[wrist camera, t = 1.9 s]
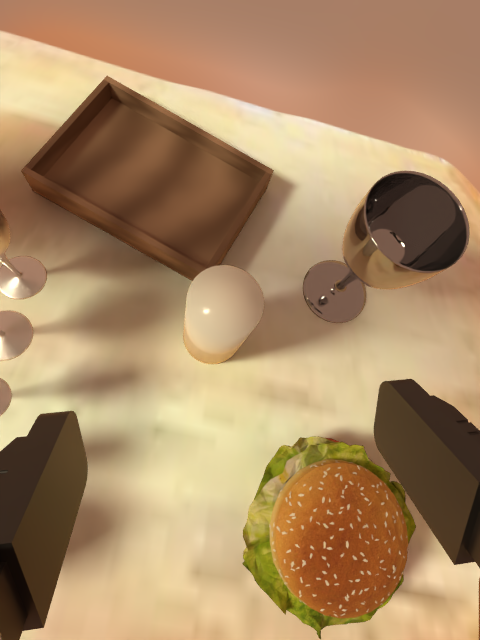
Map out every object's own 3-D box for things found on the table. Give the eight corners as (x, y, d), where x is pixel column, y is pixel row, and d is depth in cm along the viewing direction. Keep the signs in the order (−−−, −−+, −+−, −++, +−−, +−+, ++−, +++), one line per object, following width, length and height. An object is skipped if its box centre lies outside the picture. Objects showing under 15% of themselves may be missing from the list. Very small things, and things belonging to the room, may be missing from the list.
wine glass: (285, 298, 40) (345, 228, 26) (321, 243, 43) (394, 151, 28) (349, 341, 40) (444, 293, 26) (381, 283, 43) (485, 211, 28)
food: (306, 404, 38) (338, 398, 30) (410, 513, 37) (472, 536, 29) (203, 516, 34) (210, 542, 26) (317, 643, 32) (359, 709, 25)
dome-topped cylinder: (172, 346, 37) (171, 314, 27) (201, 298, 39) (210, 251, 28) (222, 374, 37) (241, 354, 27) (249, 326, 39) (277, 289, 28)
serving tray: (33, 190, 39) (21, 171, 36) (111, 100, 43) (106, 75, 40) (205, 288, 39) (207, 276, 36) (266, 188, 43) (273, 170, 40)
